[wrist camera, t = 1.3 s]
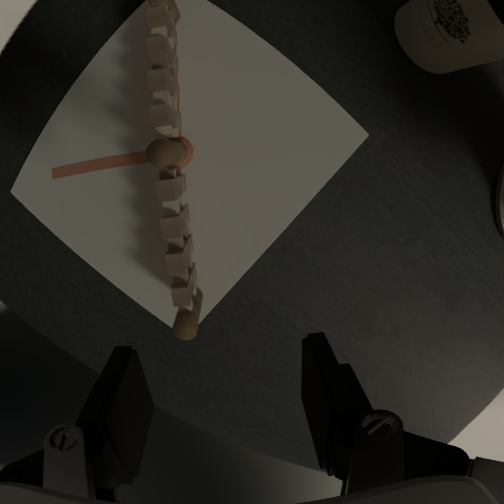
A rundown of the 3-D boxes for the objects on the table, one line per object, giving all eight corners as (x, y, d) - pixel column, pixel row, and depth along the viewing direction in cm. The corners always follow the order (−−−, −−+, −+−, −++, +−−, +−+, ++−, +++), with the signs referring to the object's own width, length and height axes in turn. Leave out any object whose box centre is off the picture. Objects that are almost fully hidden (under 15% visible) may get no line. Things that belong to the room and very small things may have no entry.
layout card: (170, -21, 20) (169, -22, 20) (368, 135, 25) (369, 134, 25) (11, 191, 25) (10, 191, 24) (186, 336, 30) (185, 338, 30)
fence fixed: (160, 11, 21) (142, -22, 15) (180, 8, 21) (167, -27, 15) (167, 164, 25) (147, 168, 19) (188, 162, 25) (174, 165, 19)
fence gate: (166, 168, 25) (148, 173, 19) (188, 165, 25) (175, 169, 19) (184, 305, 29) (174, 340, 23) (204, 304, 29) (198, 339, 23)
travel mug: (446, 10, 21) (565, -39, 4) (463, 77, 24) (602, 59, 7) (383, -1, 21) (498, -86, 4) (402, 72, 24) (553, 26, 7)
